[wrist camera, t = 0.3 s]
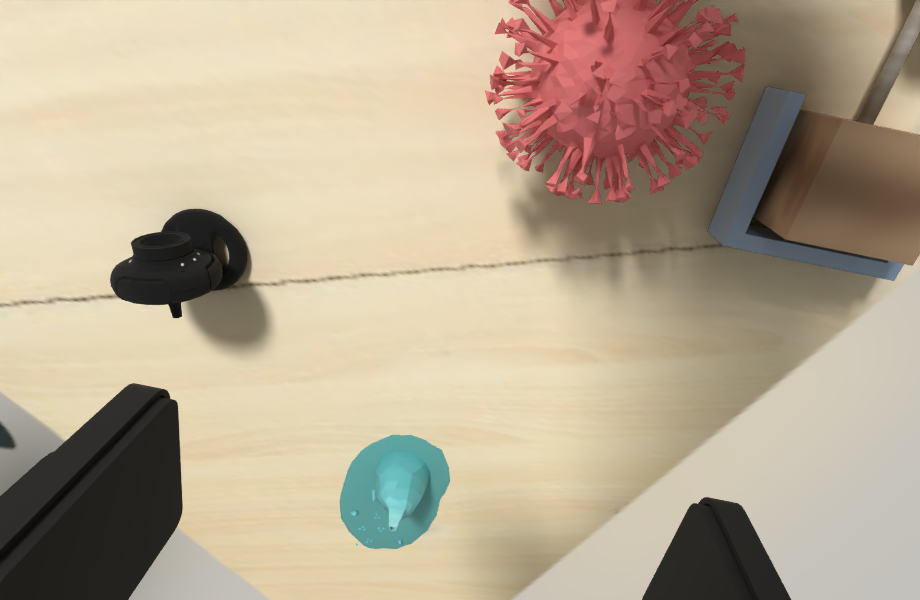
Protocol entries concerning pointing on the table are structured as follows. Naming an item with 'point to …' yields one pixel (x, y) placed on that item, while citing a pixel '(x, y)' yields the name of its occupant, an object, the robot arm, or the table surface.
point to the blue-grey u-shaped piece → (751, 182)
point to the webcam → (180, 261)
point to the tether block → (851, 176)
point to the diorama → (393, 491)
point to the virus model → (611, 87)
